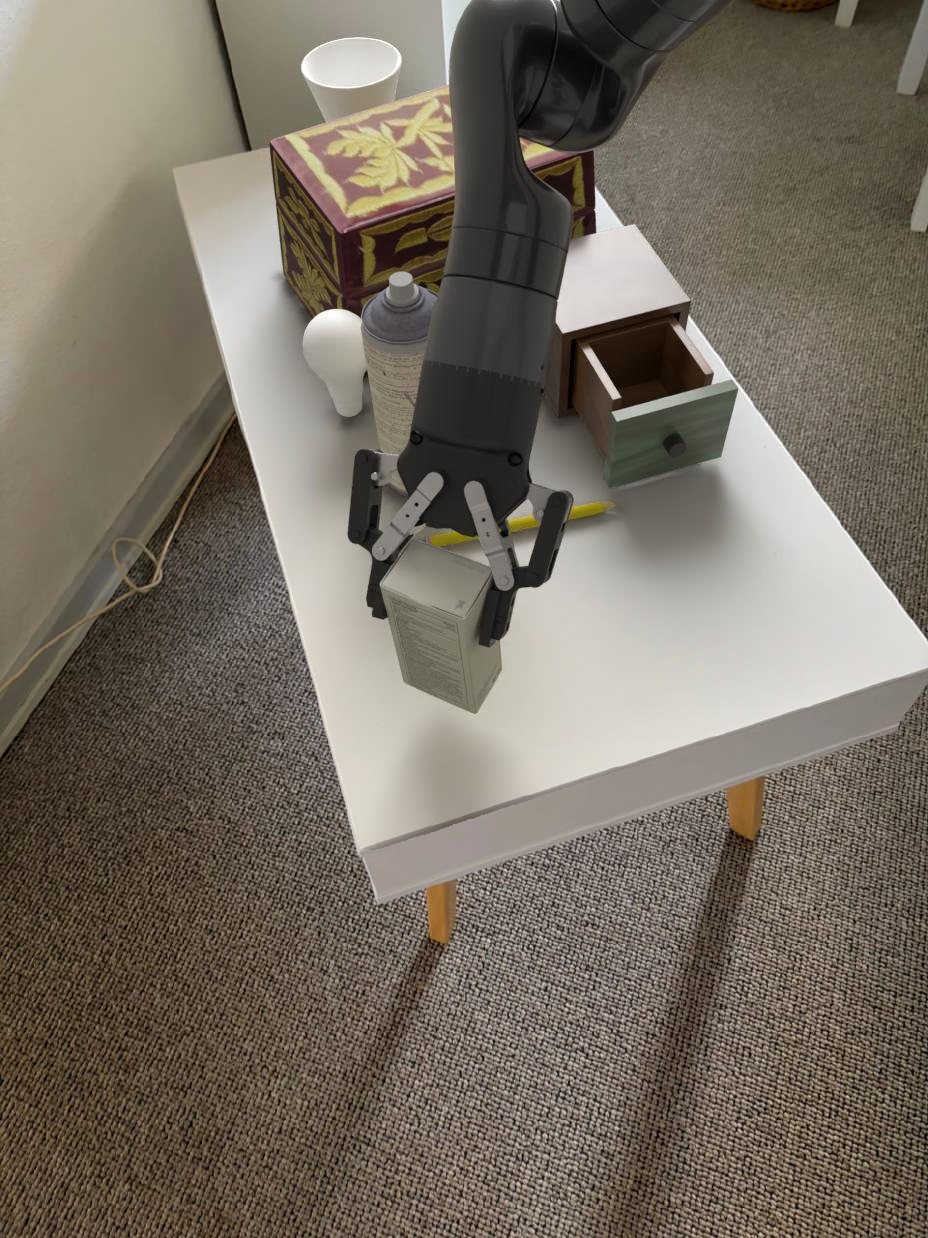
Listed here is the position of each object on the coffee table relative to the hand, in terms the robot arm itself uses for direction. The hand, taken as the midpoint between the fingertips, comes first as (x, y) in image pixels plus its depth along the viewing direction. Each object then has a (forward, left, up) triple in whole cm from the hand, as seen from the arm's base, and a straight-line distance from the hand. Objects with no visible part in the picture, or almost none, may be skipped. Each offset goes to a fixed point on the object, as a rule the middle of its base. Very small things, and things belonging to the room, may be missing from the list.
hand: (434, 629), depth 63 cm
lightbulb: (+19, -28, -12) cm, 36 cm away
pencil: (0, -19, -12) cm, 23 cm away
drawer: (-8, -32, -11) cm, 35 cm away
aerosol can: (+10, -23, -12) cm, 28 cm away
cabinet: (-1, -41, -12) cm, 43 cm away
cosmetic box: (0, -2, -9) cm, 9 cm away
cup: (+32, -63, -12) cm, 72 cm away
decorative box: (+18, -48, -12) cm, 53 cm away
